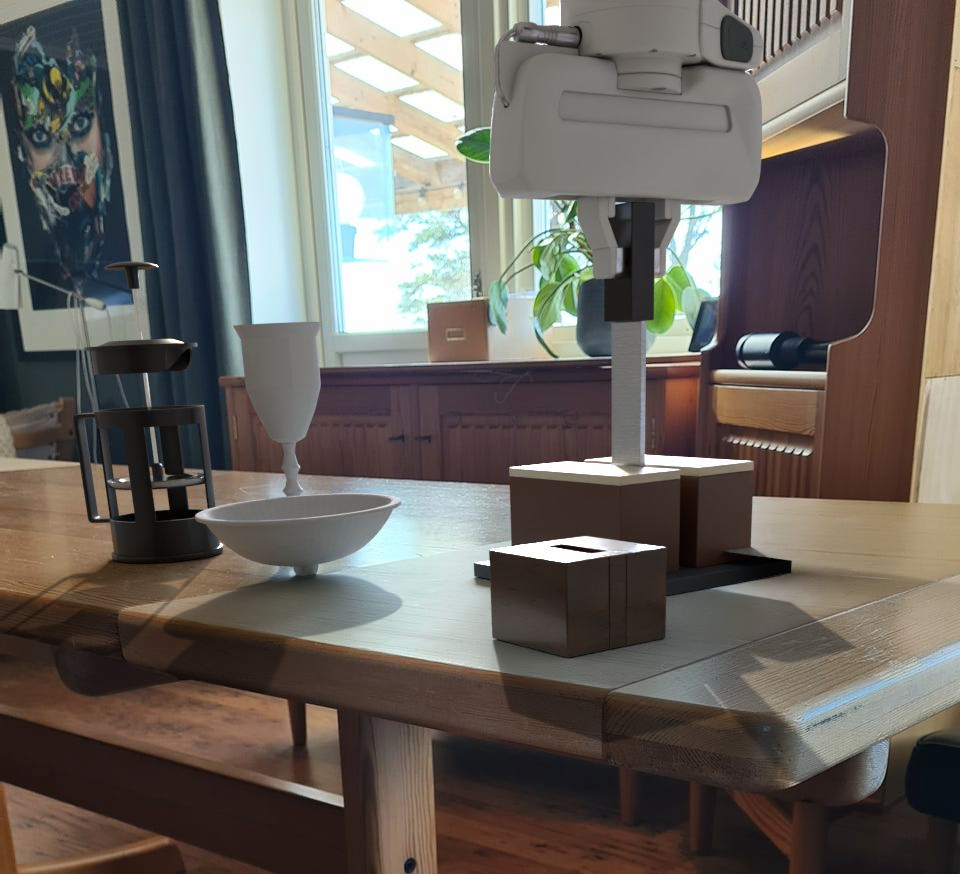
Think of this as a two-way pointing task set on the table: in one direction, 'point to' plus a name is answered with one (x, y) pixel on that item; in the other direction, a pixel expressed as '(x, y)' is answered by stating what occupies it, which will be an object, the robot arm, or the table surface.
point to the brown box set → (647, 513)
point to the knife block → (578, 594)
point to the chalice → (283, 383)
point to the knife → (630, 328)
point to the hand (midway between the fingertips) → (629, 278)
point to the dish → (300, 527)
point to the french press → (147, 529)
